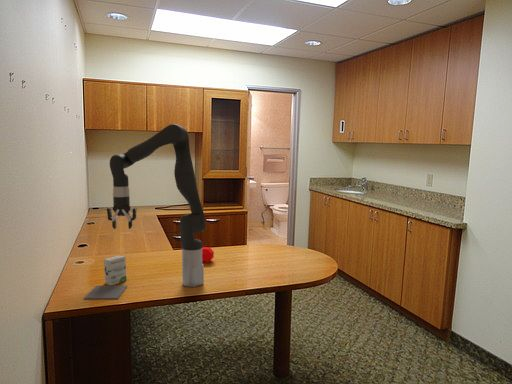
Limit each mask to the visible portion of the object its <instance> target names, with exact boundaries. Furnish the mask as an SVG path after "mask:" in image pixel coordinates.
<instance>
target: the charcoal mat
mask: <svg viewBox="0 0 512 384" xmlns="http://www.w3.org/2000/svg"><path fill="white" fill-rule="evenodd" d="M127 288H128V285H111V286H110V285H95V286H94V287H93V288H92V289H91V290H90V292H88V293H87V294H86V295H85V296H84V298H83V300H119V298H120V297H121V296H122V294H123V293H124V292H125V290H126V289H127Z"/></svg>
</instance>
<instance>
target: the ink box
mask: <svg viewBox="0 0 512 384" xmlns="http://www.w3.org/2000/svg"><path fill="white" fill-rule="evenodd" d="M126 265H127V263H126V256H124V255H120V254H119V255H116V256H112V257H107V258H104V259H103V268H104V283H105V284H106V285H107V286H115V285H117V284H120V283H123V282H126V281H127V280H128V279H127V267H126Z"/></svg>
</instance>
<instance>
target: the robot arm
mask: <svg viewBox="0 0 512 384" xmlns="http://www.w3.org/2000/svg"><path fill="white" fill-rule="evenodd" d="M166 145H172V147H173V148H174V153H175V154H174V155H175V164H174V172H173V173H174V180H175V181H174V182H175V184H176V188H177V190H178V191H179V193H180V195H181V196H183V198H184V199H185V200H186V202H187V204H188V206H189V209H190V213H186V214H182V216H181V217H180V220H179V234H180V244H181V261H182V262H181V267H182V268H181V270H182V273H181V274H182V280H181V281H182V285H183V286H185V287H189V288H196V287H198V286H201V285H204V283H205V280H204V278H205V277H204V276H205V275H204V274H205V273H204V268H205V267H204V265H205V264H204V263H203V262H202V248H203V241H202V240H200V239H197V238H196V239H195V236H194V235H195V234H197V233H201V232H204V231H205V229H206V225H207V221H206V216H205V211H204V209H203V206H202V203H201V198H200V194H199V189H198V184H197V178H196V175H195V171H194V170H195V169H194V166H193V161H192V156H191V155H192V154H191V149H190V135H189V132H188V130H187V129H186V128H185V127H183V126H182V125H179V124H176V123H171V124H168V125H167V126H165V127H164V128H163V129H161V130H159V132H157V133H155V134H154V135H153V136H151V137H150V138H148V139H146V140H144V141H142V142H141V143H139V144H137V145H134V146H133V147H131V148H129V149H128V150H127V151H126V152H124V153H121V154H120V153H119V154H114V155H112V156H111V157H110V159H109V169H110V173H111V176H112V183H113V184H112V186H113V187H112V198H113V199H112V200H113V203H112V205H113V206H112V207H107V208H106V212H107V213H106V214H107V220H108V221H111V223H112V224H111V225H112V228H113V230H115V229H117V218H118V217H125V218H126V219H127V220H128V222H127V223H128V229H129V230H131V229H132V227H133V221H135V220H136V219H137V207H131V203H130V202H131V200H130V198H131V197H130V187H129V175H128V174H126V173H125V170H124V169H128V168H129V167H131V166H132V165H134V164H135V163H137V162H140V161H141V160H144V159H146V158H148V157H150V156H151V155H152V154H153V153H154V152H155V151H156V150H158V149H159V148H161V147H164V146H166ZM130 211H131V213H132V215H131V213H130ZM112 212H114V215H112Z"/></svg>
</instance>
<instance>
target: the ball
mask: <svg viewBox="0 0 512 384" xmlns="http://www.w3.org/2000/svg"><path fill="white" fill-rule="evenodd" d="M214 257H215V254H214V250H213V249H212V248H211V247H207V246H202V264H204V263H205V264H208V263H210V262H211V261H212V260H213V259H214Z"/></svg>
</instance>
